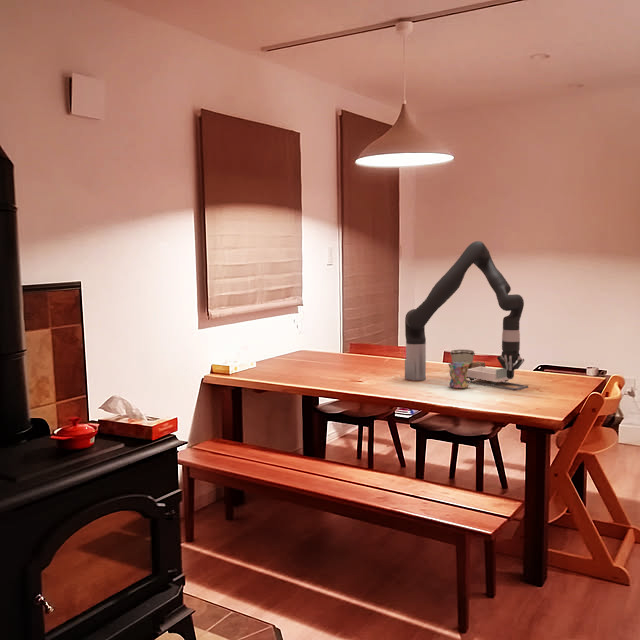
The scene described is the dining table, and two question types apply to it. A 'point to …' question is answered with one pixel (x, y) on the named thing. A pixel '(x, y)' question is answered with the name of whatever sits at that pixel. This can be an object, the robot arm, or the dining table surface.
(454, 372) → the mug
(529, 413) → the dining table surface
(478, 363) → the block
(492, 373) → the cart
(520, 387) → the rails
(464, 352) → the food container
